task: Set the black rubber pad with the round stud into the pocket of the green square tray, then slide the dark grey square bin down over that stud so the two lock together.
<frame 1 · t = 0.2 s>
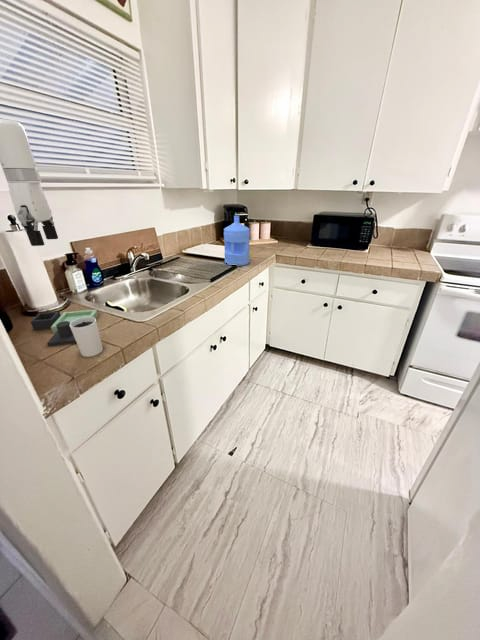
hand: (45, 242, 78), 29 cm above the table, tool pointing down, fingers open, 9 cm apart
dark grey square bin: (48, 325, 93), on the table
black stud pad: (68, 337, 85), on the table
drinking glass: (92, 351, 79), on the table
green square tray: (77, 323, 94), on the table
water jug: (236, 263, 164), on the table
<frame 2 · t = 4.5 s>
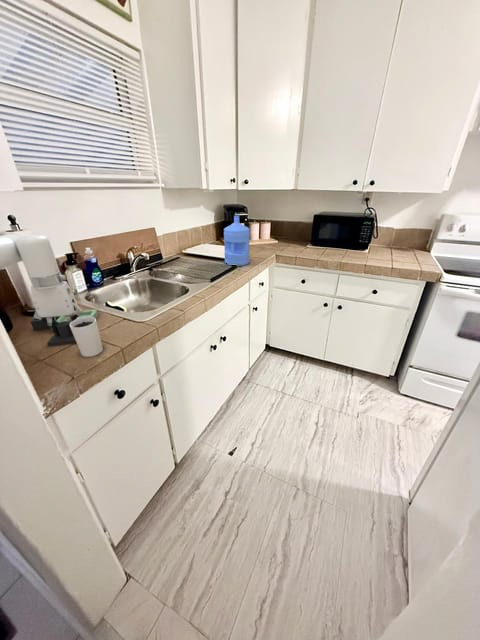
hand: (66, 333, 85), 2 cm above the table, tool pointing down, fingers closed on black stud pad, 3 cm apart
black stud pad: (68, 337, 85), on the table, touching gripper
everything else where it was.
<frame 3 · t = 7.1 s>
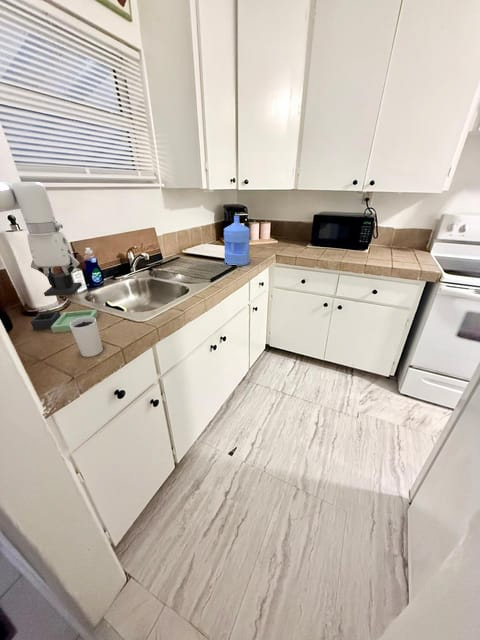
hand: (62, 285, 86), 15 cm above the table, tool pointing down, fingers closed on black stud pad, 3 cm apart
black stud pad: (64, 290, 87), point 13 cm above the table, touching gripper
everything else where it was.
when the fingers open (3 cm above the table, at t = 10.1 s): black stud pad stays where it is, resting on green square tray.
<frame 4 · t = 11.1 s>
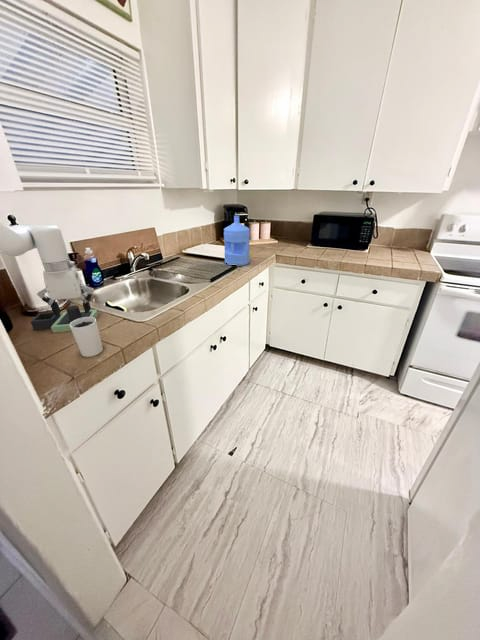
hand: (73, 312, 92), 4 cm above the table, tool pointing down, fingers open, 9 cm apart
black stud pad: (76, 320, 94), point 1 cm above the table, touching green square tray
everything else where it was.
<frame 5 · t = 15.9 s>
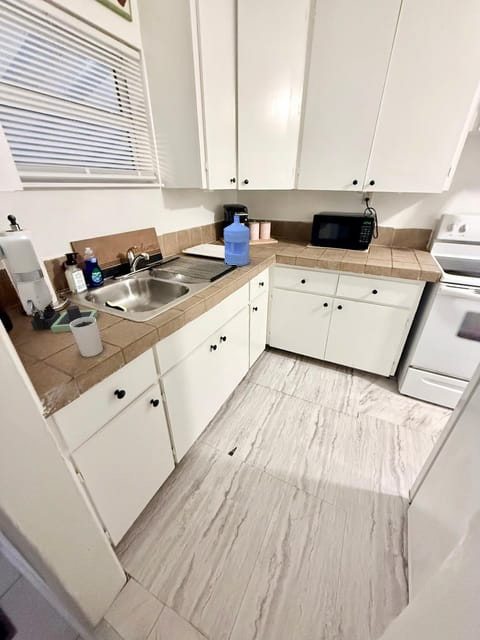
hand: (48, 323, 93), 1 cm above the table, tool pointing down, fingers closed on dark grey square bin, 6 cm apart
dark grey square bin: (48, 325, 93), on the table, touching gripper
everything else where it was.
when the fingers open (3 cm above the table, at t = 23.1 s): dark grey square bin stays where it is, resting on black stud pad.
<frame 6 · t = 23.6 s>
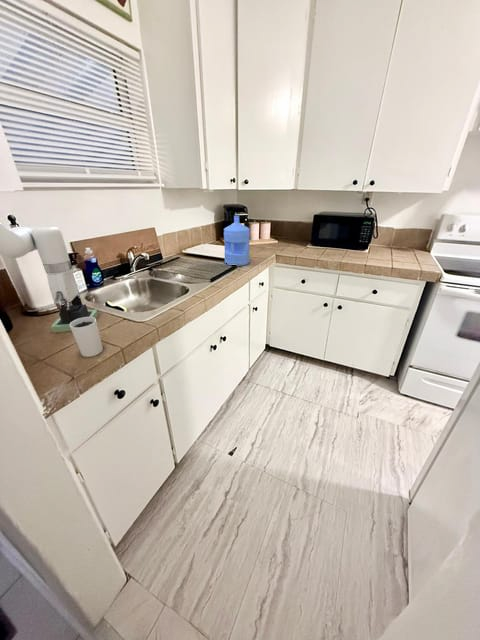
hand: (73, 313, 93), 4 cm above the table, tool pointing down, fingers open, 9 cm apart
dark grey square bin: (75, 317, 93), point 2 cm above the table, touching black stud pad
black stud pad: (76, 320, 94), point 1 cm above the table, touching green square tray, dark grey square bin
everything else where it was.
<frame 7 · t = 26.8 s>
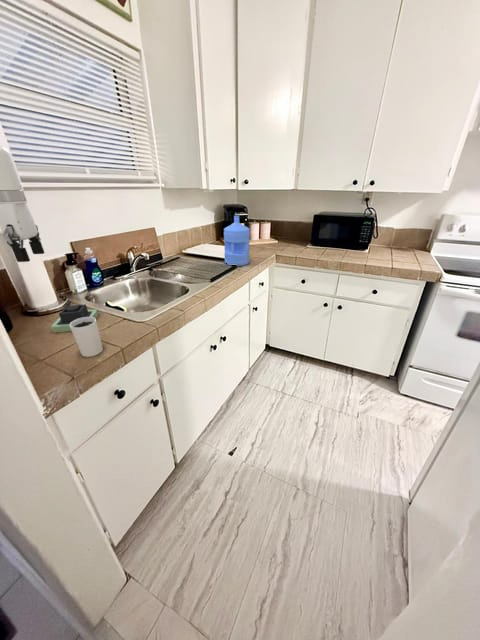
hand: (31, 257, 82), 24 cm above the table, tool pointing down, fingers open, 9 cm apart
nothing on the table moved.
at the end: black stud pad 0.1 cm off-centre on the green square tray, point 1.0 cm above the green square tray's base; dark grey square bin 0.0 cm off-centre on the black stud pad, point 1.2 cm above the black stud pad's base; dark grey square bin tilted 0° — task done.
